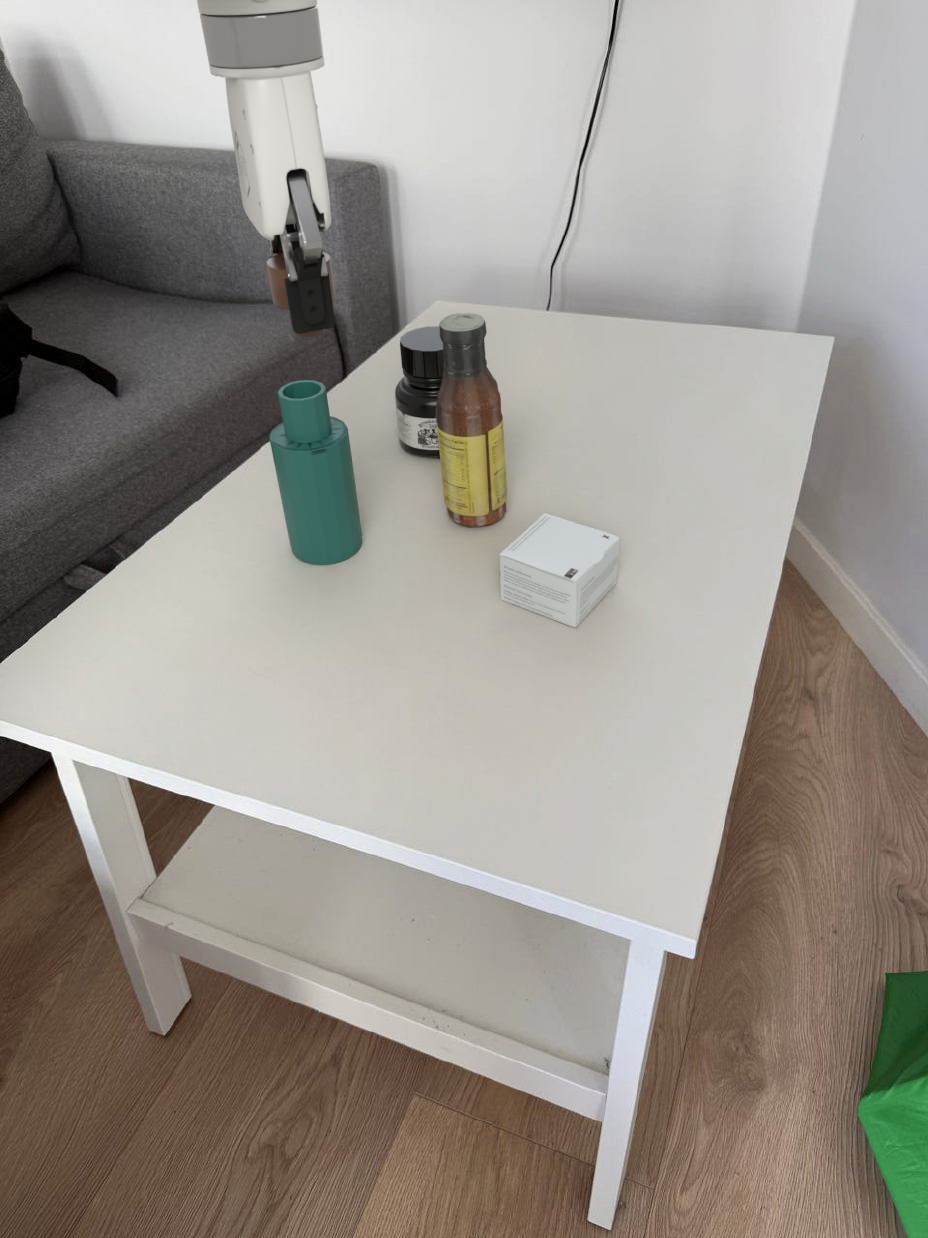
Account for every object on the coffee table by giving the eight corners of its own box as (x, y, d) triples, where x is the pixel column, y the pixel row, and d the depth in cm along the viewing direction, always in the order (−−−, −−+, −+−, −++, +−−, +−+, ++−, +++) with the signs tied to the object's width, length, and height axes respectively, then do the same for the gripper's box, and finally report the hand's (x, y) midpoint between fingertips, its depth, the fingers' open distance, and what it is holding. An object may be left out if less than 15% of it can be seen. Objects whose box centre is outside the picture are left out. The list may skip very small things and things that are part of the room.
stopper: (285, 347, 70) (273, 274, 66) (273, 325, 73) (260, 255, 70) (346, 336, 71) (337, 263, 67) (331, 315, 74) (321, 245, 71)
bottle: (300, 572, 85) (270, 414, 75) (284, 535, 90) (254, 382, 80) (370, 554, 87) (350, 397, 77) (351, 519, 92) (329, 367, 82)
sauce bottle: (489, 491, 95) (484, 300, 82) (518, 519, 90) (517, 322, 78) (432, 508, 93) (417, 315, 80) (459, 538, 88) (448, 338, 76)
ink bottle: (388, 458, 101) (377, 354, 93) (403, 421, 108) (394, 321, 100) (476, 461, 100) (472, 356, 92) (485, 423, 106) (482, 322, 99)
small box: (543, 556, 85) (544, 509, 82) (619, 583, 82) (623, 535, 78) (497, 600, 80) (496, 552, 77) (575, 631, 77) (578, 582, 73)
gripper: (189, 34, 65) (239, 290, 77) (227, 66, 53) (280, 367, 64) (292, 24, 67) (326, 276, 78) (353, 53, 54) (383, 348, 66)
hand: (305, 314), depth 71 cm, fingers closed on stopper, 4 cm apart
